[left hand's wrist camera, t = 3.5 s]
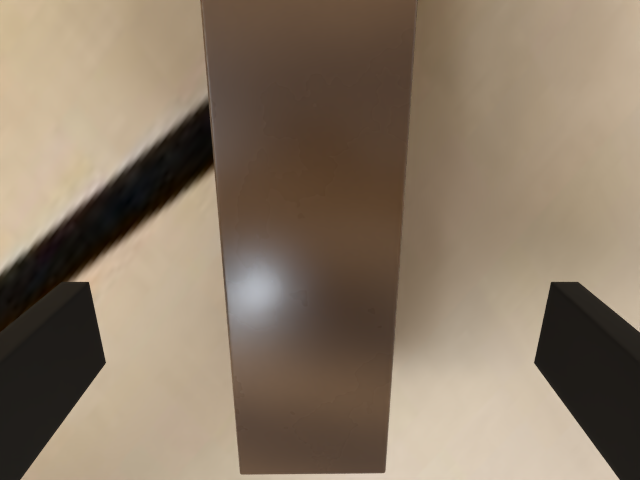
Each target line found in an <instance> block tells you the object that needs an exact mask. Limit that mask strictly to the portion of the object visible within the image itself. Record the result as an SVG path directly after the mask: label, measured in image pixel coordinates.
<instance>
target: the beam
mask: <svg viewBox="0 0 640 480" xmlns="http://www.w3.org/2000/svg"><path fill="white" fill-rule="evenodd" d="M417 1H418V0H200V2H201V14H202V26H203V38H204V50H205V62H206V73H207V85H208V97H209V109H210V121H211V133H212V145H213V157H214V169H215V181H216V193H217V205H218V217H219V228H220V240H221V252H222V264H223V276H224V288H225V300H226V312H227V324H228V336H229V348H230V360H231V372H232V383H233V395H234V407H235V419H236V431H237V443H238V455H239V467H240V474H346V473H385V470H386V455H387V440H388V426H389V411H390V396H391V382H392V367H393V353H394V338H395V323H396V309H397V294H398V279H399V265H400V250H401V236H402V221H403V206H404V192H405V177H406V162H407V148H408V133H409V118H410V104H411V89H412V75H413V60H414V45H415V31H416V16H417Z"/></svg>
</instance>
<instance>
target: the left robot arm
mask: <svg viewBox="0 0 640 480" xmlns="http://www.w3.org/2000/svg"><path fill="white" fill-rule="evenodd" d="M105 363H106V361H105V357H104V352H103V347H102V342H101V337H100V333H99V328H98V323H97V318H96V314H95V309H94V304H93V299H92V295H91V290H90V285H89V282H61V283H60V284H59V285H58V286H56V287H55V288H54V289H53V290H52V291H50V292H49V293H48V294H47V295H45V296H44V297H43V298H42V299H41V300H39V301H38V302H37V303H36V304H34V305H33V306H32V307H31V308H30V309H28V310H27V311H26V312H25V313H23V314H22V315H21V316H20V317H19V318H17V319H16V320H15V321H14V322H12V323H11V324H10V325H9V326H8V327H6V328H5V329H4V330H3V331H1V332H0V480H20V479H21V478H22V477H23V475H24V474H25V472H26V471H27V470H28V468H29V467H30V466H31V464H32V463H33V462H34V460H35V459H36V457H37V456H38V455H39V453H40V452H41V451H42V449H43V448H44V447H45V445H46V444H47V442H48V441H49V440H50V438H51V437H52V436H53V434H54V433H55V432H56V430H57V429H58V427H59V426H60V425H61V423H62V422H63V421H64V419H65V418H66V417H67V415H68V414H69V412H70V411H71V410H72V408H73V407H74V406H75V404H76V403H77V402H78V400H79V399H80V397H81V396H82V395H83V393H84V392H85V391H86V389H87V388H88V387H89V385H90V384H91V382H92V381H93V380H94V378H95V377H96V376H97V374H98V373H99V372H100V370H101V369H102V367H103V366H104V365H105ZM534 363H535V365H536V366H537V367H538V369H539V370H540V372H541V373H542V374H543V376H544V377H545V378H546V380H547V381H548V382H549V384H550V385H551V387H552V388H553V389H554V391H555V392H556V393H557V395H558V396H559V397H560V399H561V400H562V402H563V403H564V404H565V406H566V407H567V408H568V410H569V411H570V412H571V414H572V415H573V417H574V418H575V419H576V421H577V422H578V423H579V425H580V426H581V427H582V429H583V430H584V432H585V433H586V434H587V436H588V437H589V438H590V440H591V441H592V442H593V444H594V445H595V447H596V448H597V449H598V451H599V452H600V453H601V455H602V456H603V457H604V459H605V460H606V462H607V463H608V464H609V466H610V467H611V468H612V470H613V471H614V472H615V474H616V475H617V477H618V478H619V479H620V480H640V332H639V331H637V330H636V329H635V328H634V327H632V326H631V325H630V324H629V323H628V322H626V321H625V320H624V319H623V318H621V317H620V316H619V315H618V314H617V313H615V312H614V311H613V310H612V309H610V308H609V307H608V306H607V305H606V304H604V303H603V302H602V301H601V300H599V299H598V298H597V297H596V296H595V295H593V294H592V293H591V292H590V291H588V290H587V289H586V288H585V287H584V286H582V285H581V284H580V283H579V282H551V285H550V290H549V295H548V299H547V304H546V309H545V314H544V318H543V323H542V328H541V333H540V337H539V342H538V347H537V352H536V357H535V361H534Z"/></svg>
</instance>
